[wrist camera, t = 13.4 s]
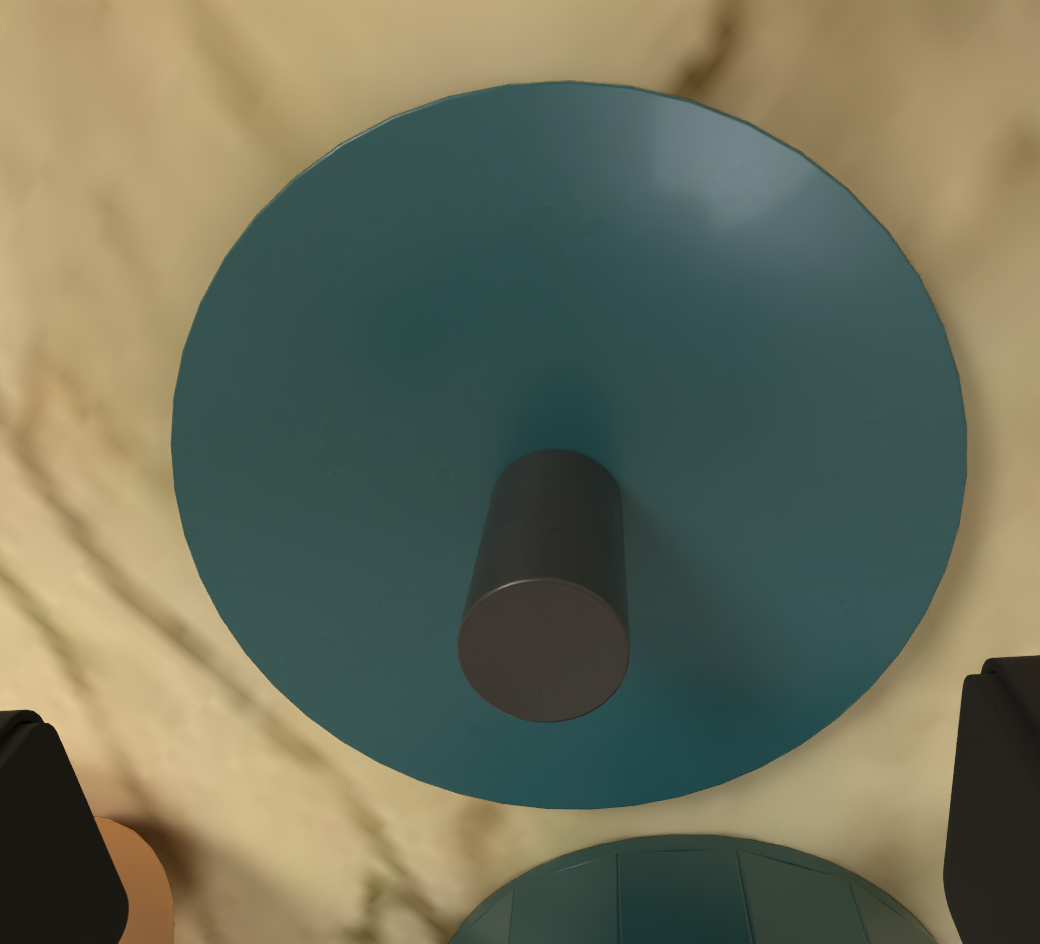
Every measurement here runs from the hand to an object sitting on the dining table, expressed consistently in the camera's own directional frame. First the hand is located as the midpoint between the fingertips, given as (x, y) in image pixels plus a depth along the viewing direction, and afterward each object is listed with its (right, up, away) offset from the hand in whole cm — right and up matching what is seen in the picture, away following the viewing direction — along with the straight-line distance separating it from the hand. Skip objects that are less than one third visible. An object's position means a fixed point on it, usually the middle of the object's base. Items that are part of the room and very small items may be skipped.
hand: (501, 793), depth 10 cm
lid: (+1, +3, +9) cm, 10 cm away
